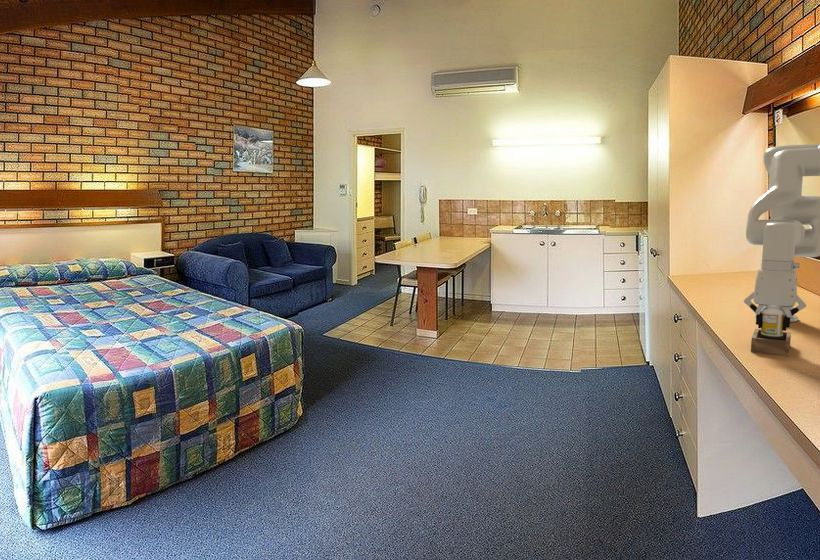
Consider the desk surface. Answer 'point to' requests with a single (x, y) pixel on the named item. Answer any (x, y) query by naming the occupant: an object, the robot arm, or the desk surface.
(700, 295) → the desk surface
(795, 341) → the desk surface
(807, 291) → the desk surface
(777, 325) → the supplement bottle
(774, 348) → the walled box
